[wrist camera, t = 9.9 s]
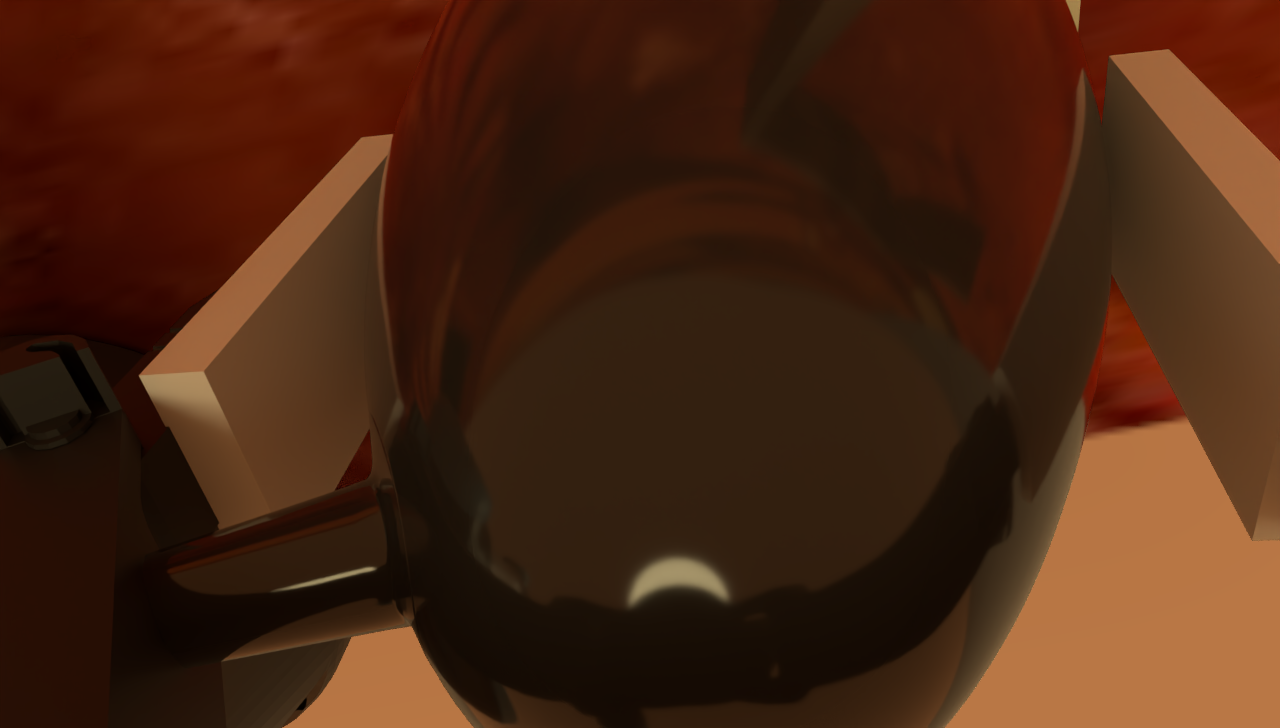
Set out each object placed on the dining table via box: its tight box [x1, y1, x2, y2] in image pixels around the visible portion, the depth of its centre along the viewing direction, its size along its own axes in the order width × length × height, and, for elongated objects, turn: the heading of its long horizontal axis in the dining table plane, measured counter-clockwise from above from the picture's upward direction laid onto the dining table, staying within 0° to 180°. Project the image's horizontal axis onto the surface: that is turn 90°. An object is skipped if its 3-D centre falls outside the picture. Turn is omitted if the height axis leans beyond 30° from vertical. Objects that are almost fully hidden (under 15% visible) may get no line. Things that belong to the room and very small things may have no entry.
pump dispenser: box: [143, 0, 1112, 728], centre depth 13 cm, size 10×10×15 cm
